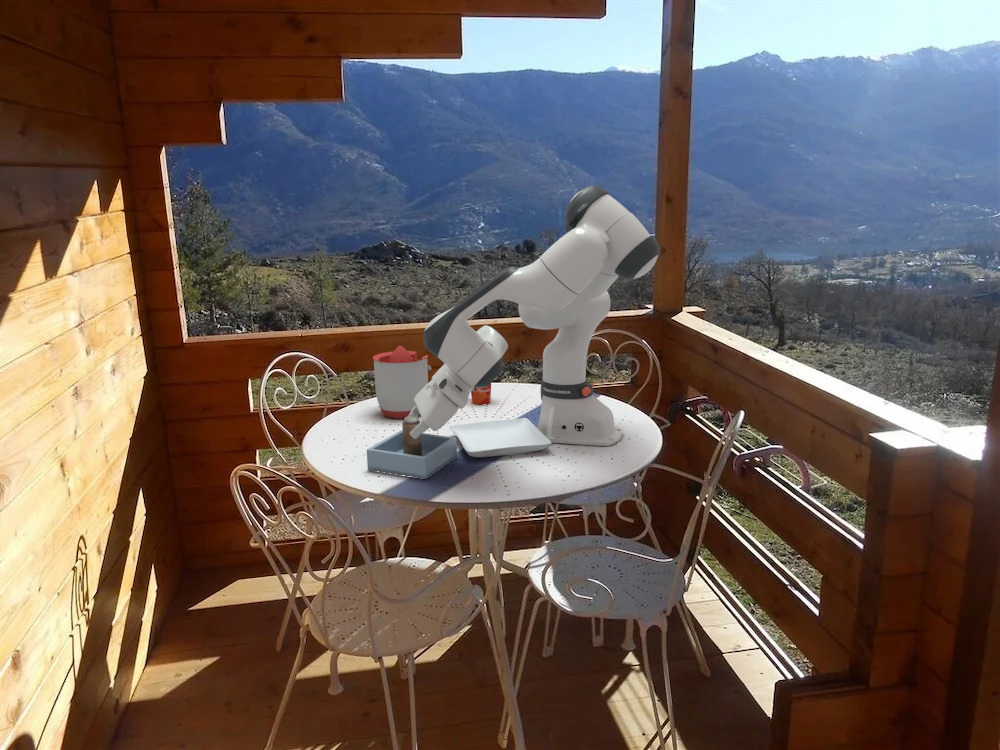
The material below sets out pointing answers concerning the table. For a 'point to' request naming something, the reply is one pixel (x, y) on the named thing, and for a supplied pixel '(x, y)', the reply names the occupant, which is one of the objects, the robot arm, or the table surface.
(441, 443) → the slate blue bin
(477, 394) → the paper cup
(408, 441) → the walnut pepper mill
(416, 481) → the table surface
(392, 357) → the citrus juicer
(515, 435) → the salad plate
